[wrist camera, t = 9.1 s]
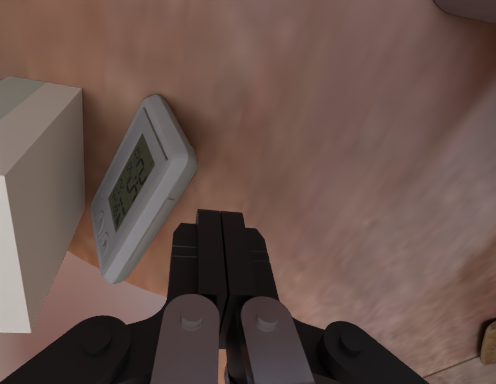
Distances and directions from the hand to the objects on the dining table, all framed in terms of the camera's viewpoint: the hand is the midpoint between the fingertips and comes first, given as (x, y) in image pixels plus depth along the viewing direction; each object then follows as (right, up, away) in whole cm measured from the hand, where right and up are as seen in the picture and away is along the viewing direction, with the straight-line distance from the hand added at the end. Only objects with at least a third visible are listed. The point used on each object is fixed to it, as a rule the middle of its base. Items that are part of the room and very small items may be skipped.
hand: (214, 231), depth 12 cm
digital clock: (-10, +5, +25) cm, 28 cm away
